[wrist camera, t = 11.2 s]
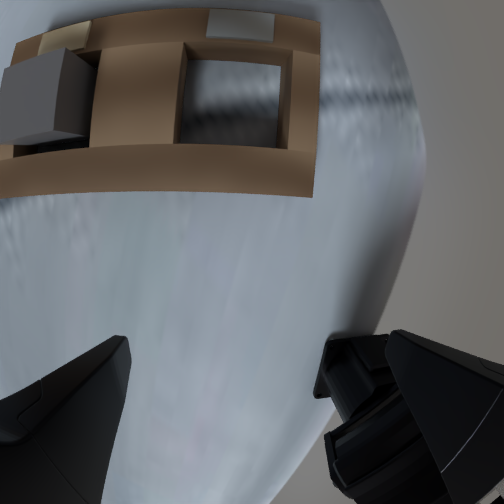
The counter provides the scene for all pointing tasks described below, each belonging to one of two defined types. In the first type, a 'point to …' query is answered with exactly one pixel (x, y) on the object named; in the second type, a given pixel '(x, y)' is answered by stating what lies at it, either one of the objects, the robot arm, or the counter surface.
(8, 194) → the socket bar
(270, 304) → the counter surface
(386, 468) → the robot arm
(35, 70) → the plug
